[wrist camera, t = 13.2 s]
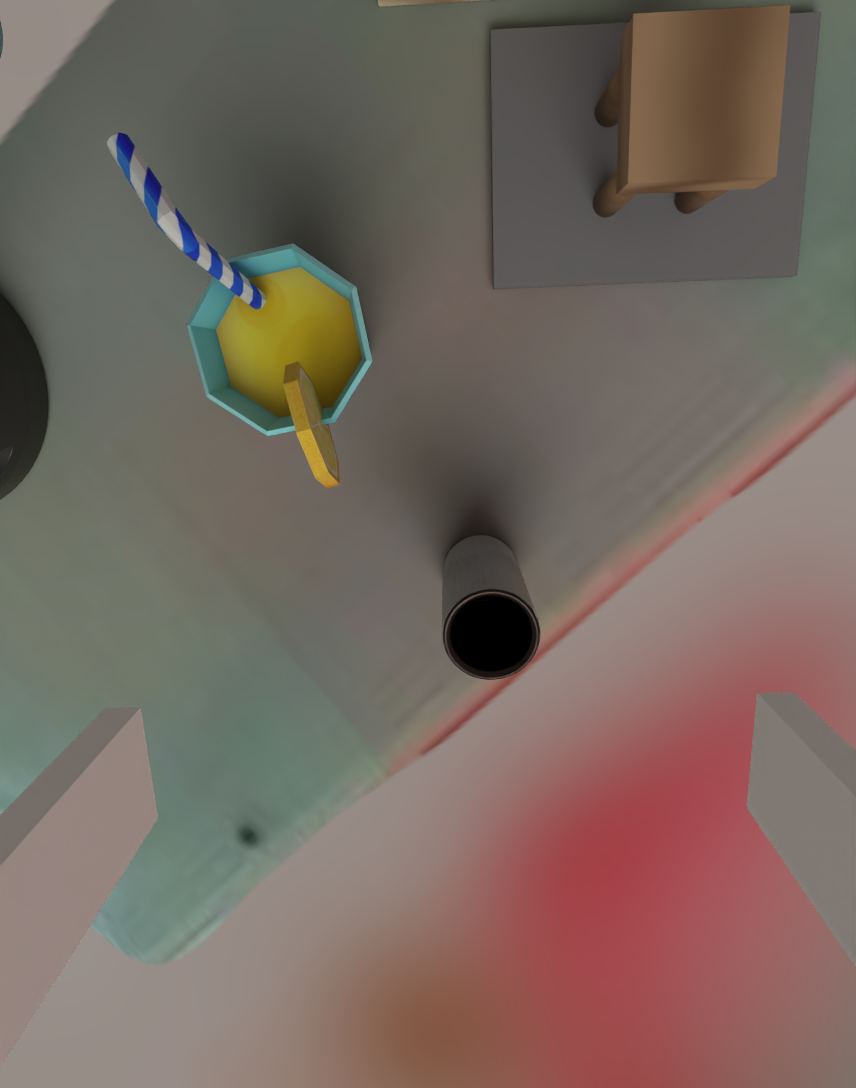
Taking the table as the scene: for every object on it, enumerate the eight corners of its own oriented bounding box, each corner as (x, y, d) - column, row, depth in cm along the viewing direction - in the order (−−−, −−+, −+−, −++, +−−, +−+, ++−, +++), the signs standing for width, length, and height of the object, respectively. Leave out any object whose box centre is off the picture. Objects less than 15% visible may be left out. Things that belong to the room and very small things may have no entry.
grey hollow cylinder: (508, 612, 42) (527, 689, 32) (435, 597, 42) (432, 670, 32) (525, 542, 41) (551, 599, 31) (451, 527, 41) (453, 579, 31)
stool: (588, 222, 36) (628, 183, 28) (591, 92, 34) (633, 13, 27) (704, 217, 36) (776, 176, 28) (712, 86, 34) (790, 4, 26)
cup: (181, 265, 37) (14, 203, 23) (294, 177, 36) (194, 52, 22) (331, 476, 40) (267, 539, 26) (441, 401, 39) (439, 422, 24)
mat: (493, 289, 37) (493, 287, 37) (489, 35, 34) (490, 29, 34) (791, 276, 37) (796, 275, 36) (814, 17, 34) (820, 11, 33)
